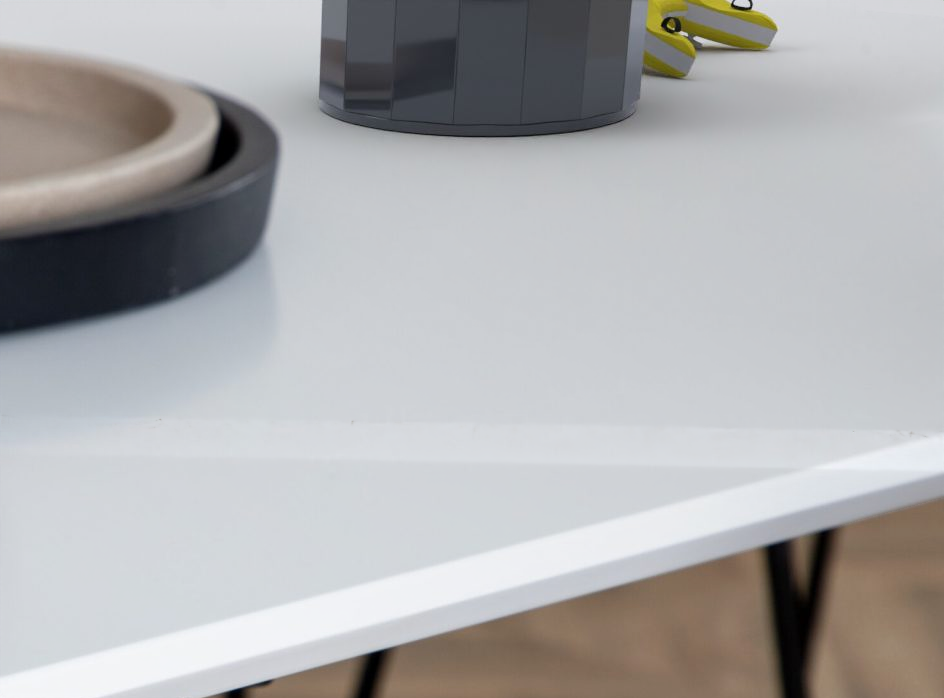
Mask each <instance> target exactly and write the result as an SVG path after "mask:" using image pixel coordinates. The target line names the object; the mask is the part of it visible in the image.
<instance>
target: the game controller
mask: <svg viewBox="0 0 944 698" xmlns="http://www.w3.org/2000/svg"><path fill="white" fill-rule="evenodd" d="M735 1H736V0H732V1H731V2H730V1H728V0H649V1H648V12H647V23H646V34H645V45H644V56H643V65H645V66H646V67H648V68H650V69H652V70H654V71H657V72H658V73H661V74H664V75H667V76H672V77H676V78H685V77H687V76H688V74H689V72H690V70H691V68H692V66H693V65H694V63H695V60H696V58H697V52H696V48H697V49H700V48H702V47H703V43H701V42H700V41H697V39H694V38H695V37H698V38H702V39H703V40H708V41H710V42H713V43H717V44H722V45H724V46H725V45H726V46H730V47H734V48H739V49H745V50H759V51H760V50H766V49H767V48H768V49H769V48H770V47H771V44H772V43H773V40H774V39H775V36H776V34H777V33H778V26H777V23H775V22H774V20H773V19H772V18H771V17H769V15H767V14H765V13H762V12H760V11H758V10H754V9H753V7H754V3H753V0H747V2H749V6H741V5H736V4H734V3H735ZM681 32H682V33H685V34H687V35H685V34H684V35H683V34H681Z"/></svg>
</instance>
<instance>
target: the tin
mask: <svg viewBox="0 0 944 698" xmlns="http://www.w3.org/2000/svg"><path fill="white" fill-rule="evenodd" d="M648 1H649V0H321V7H320V11H321V12H320V37H319V41H320V43H319V68H318V72H319V73H318V105H319V109H321V110H322V111H323V113H325V114H327V115H328V116H330V117H333V118H336V119H338V120H341V121H344V122H346V123H347V122H348V123H351V124H353V125H354V124H355V125H360V126H363V127H368V128H375V129H379V130H387V131H392V132H393V131H394V132H403V133H411V134H421V135H422V134H423V135H436V136H455V137H456V136H458V137H514V136H515V137H516V136H536V135H549V134H559V133H569V132H575V131H582V130H583V131H584V130H588V129H593V128H599V127H604V126H607V125H610V124H614V123H617V122H620V121H622V120H625V119H627V118H629V117H630V116H631V115H632V114H633V113H635V111H636V108H637V102H638V101H639V100H640V98H641V89H642V77H643V65H644V64H643V56H644V45H645V34H646V23H647V12H648Z"/></svg>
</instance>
